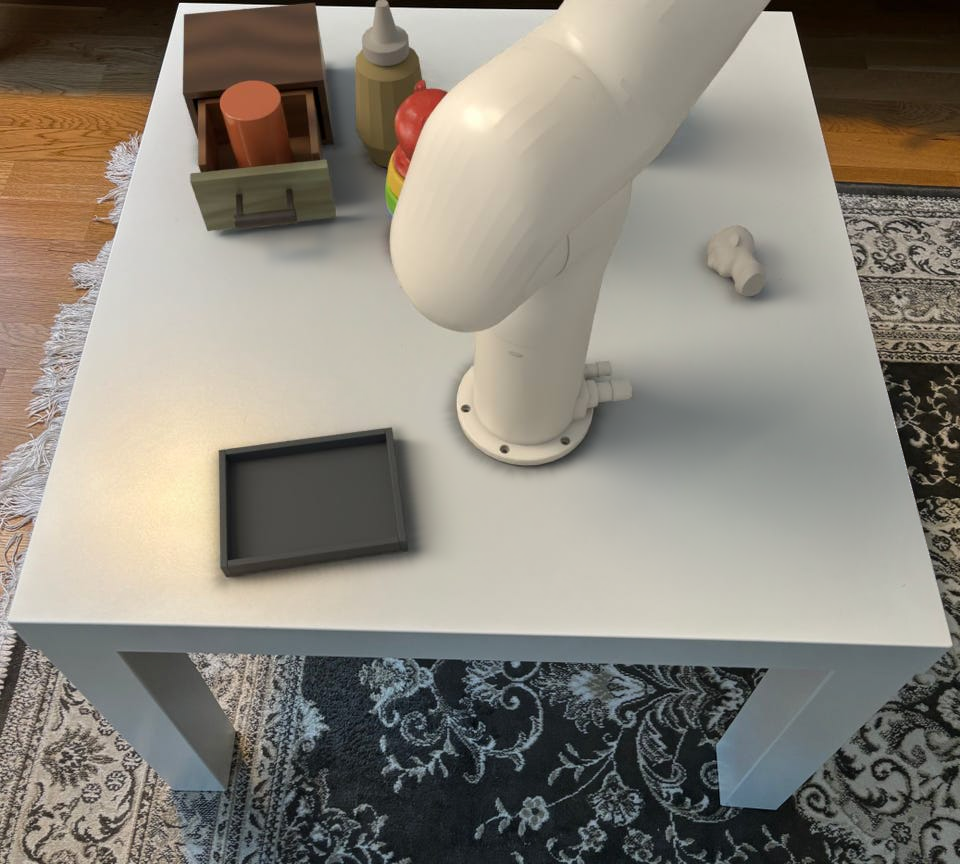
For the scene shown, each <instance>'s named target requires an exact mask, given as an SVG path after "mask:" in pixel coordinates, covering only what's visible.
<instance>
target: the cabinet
mask: <svg viewBox="0 0 960 864" xmlns="http://www.w3.org/2000/svg"><path fill="white" fill-rule="evenodd" d="M318 17H319V16H318V11H317V5H316V2H310V3H309V2H307V3H297V4H285V5H274V6H263V7H251V8H241V9H240V8H239V9H228V10H217V11H204V12H194V13H184V14H183V38H182V39H183V43H182V45H183V47H182V56H183V57H182V96H183V99H184V103H185V105H186V108H187V111H188V114H189V118H190V120H191V123H192V126H193V130H194V133H195V135H196V138H197V140H198V99H207V98H217V97H221V96H222V95H223V93H224V92H225V91H226V90H227V89H228V88H230V87H231V86H233V85H235V84H237V83H240V82H244V81H263V82H266V83H269V84H271V85H273V86H274V87H275V88H276V89H277V90H278V91H279V92H280V91H290V90H300V89H311V88H313V93H314V98H315V104H316V110H317V115H318V121H319V126H320V132H321V139H322V147H324V146H325V147H326V146H334V145H335V138H334V130H333V122H332V121H333V120H332V112H331V104H330V95H329V87H328V85H329V84H328V77H327V68H326V63H325V56H324V49H323V43H322V37H321V31H320V30H321V29H320V25H319V18H318Z"/></svg>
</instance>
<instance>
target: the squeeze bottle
mask: <svg viewBox="0 0 960 864" xmlns="http://www.w3.org/2000/svg"><path fill="white" fill-rule="evenodd" d="M361 46H362V47H361V48H362V49H361V50H360V51H359V53H358V54H357V55H356V57H355V66H354V67H355V131H356V133H357V135H358V137H359V138H360V140H361V142H362V144H363V146H364V148H365V149H366V151H367V153H368V155H369V157H370V158H371V159H372V161H373V163H375V164H377V165H378V166H380V167H384V168H387V169H388V166H389V162H390V159H391V156H392V154H393V152H394V151H395V149H396V147H397V146H398V144H399V142H398V139H397V135H396V130H395V117H396V114H397V111H398V109H399V107H400V106H401V104H402V103H403V102H404V101H405V100H406V99H407V98H408V97H409V96H410V95H412V94H414V88H415V85H416V84H417V82H419V81H420V80H423V76H422V69H421V63H420V62H421V61H420V57H419V56H418V53H417V52H416V50H415V49H414V48H412V47H411V46H410V39H409V34H408V33H407V31H406V30H405V29H404V28H403V27H401V26H399V25H396V23H395V20H394V17H393V14H392V10H391V8H390V5H389V1H388V0H377V1H376V2H375V9H374V17H373V24H372V26H371V27H368V29H366V30H365V31H364V33H363V34H362V36H361Z"/></svg>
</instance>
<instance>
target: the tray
mask: <svg viewBox="0 0 960 864" xmlns="http://www.w3.org/2000/svg"><path fill="white" fill-rule="evenodd" d="M393 433H394V432H393V427H392V426H391V427H382V428H375V429H368V430H360V431H353V432H343V433H336V434H329V435H322V436H315V437H307V438H300V439H291V440H283V441H278V442H277V441H276V442H269V443H262V444H254V445H247V446H239V447H232V448H226V449H225V448H224V449H223V448H222V449H219V450H218V492H219V493H218V495H219V498H218V499H219V500H218V501H219V503H218V507H219V568H220V570H221V572H222V573H223V574H224V576H225V577H226V578H228V577H235V576H243V575H250V574H256V573H263V572H269V571H277V570H282V569H283V570H285V569H291V568H298V567H306V566H311V565H318V564H325V563H331V562H332V563H333V562H339V561H345V560H353V559H360V558H367V557H373V556H374V557H375V556H380V555H387V554H393V553H394V554H395V553H401V552H407V551H409V547H408V539H407V533H406V531H407V530H406V523H405V517H404V509H403V500H402V494H401V485H400V479H399V478H400V477H399V472H398V471H399V470H398V464H397V463H398V462H397V455H396V447H395V441H394V434H393Z"/></svg>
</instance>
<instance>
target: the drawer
mask: <svg viewBox="0 0 960 864" xmlns="http://www.w3.org/2000/svg"><path fill="white" fill-rule="evenodd" d="M279 93H280V95H281V100H282V105H283V109H284V114H285V119H286V123H287V128H288V132H289V137H290V142H291V146H292V151H293V156H294V160H295V163H287V164H277V165H268V166H258V167H248V168H238V167H237V163H236V160H235V156H234V153H233V149H232V146H231V142H230V139H229V135H228V132H227V129H226V125H225V122H224V118H223V115H222V111H221V108H220V99H221V97H217V98H207V99H198V139H197V166H198V170H199V172H192V173H190V174H189V183H190V185H191V188H192V192H193V194H194V196H195V199H196V202H197V206H198V209H199V211H200V214H201V217H202V219H203V223H204V226H205V228H206V231H207V232H212V231H221V230H231V229H235V230H245V229H255V228H264V227H273V226H281V225H290V224H298V222H304V221H313V220H320V219H321V220H322V219H331V218H337V209H336V204H335V197H334V193H333V192H334V191H333V187H332V181H331V176H330V170H329V164H328V163H329V162H328V159H326V158H325V159H324V150H323V146H322V139H321V132H320V126H319V121H318V115H317V110H316V104H315V98H314V93H313V88H311V89H300V90H290V91H280V92H279Z"/></svg>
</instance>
